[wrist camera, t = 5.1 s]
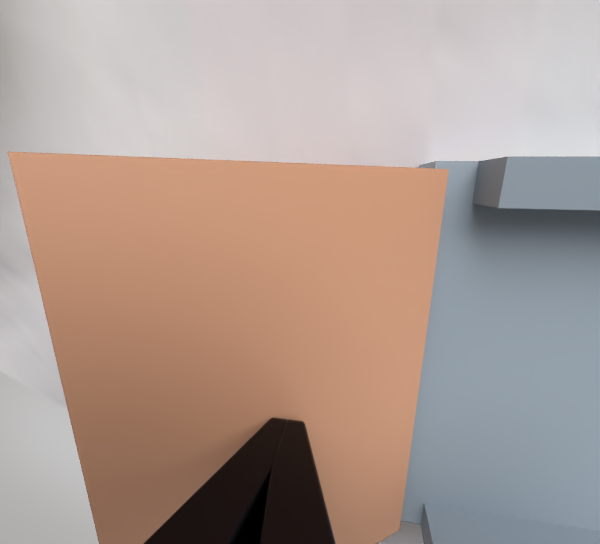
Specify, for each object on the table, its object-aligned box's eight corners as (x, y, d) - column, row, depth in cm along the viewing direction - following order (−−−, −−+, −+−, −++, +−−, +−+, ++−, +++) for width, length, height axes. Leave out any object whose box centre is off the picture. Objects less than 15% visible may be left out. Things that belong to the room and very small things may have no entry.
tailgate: (448, 169, 7) (7, 151, 4) (399, 529, 11) (133, 693, 7) (416, 170, 8) (31, 156, 5) (380, 503, 11) (134, 638, 8)
